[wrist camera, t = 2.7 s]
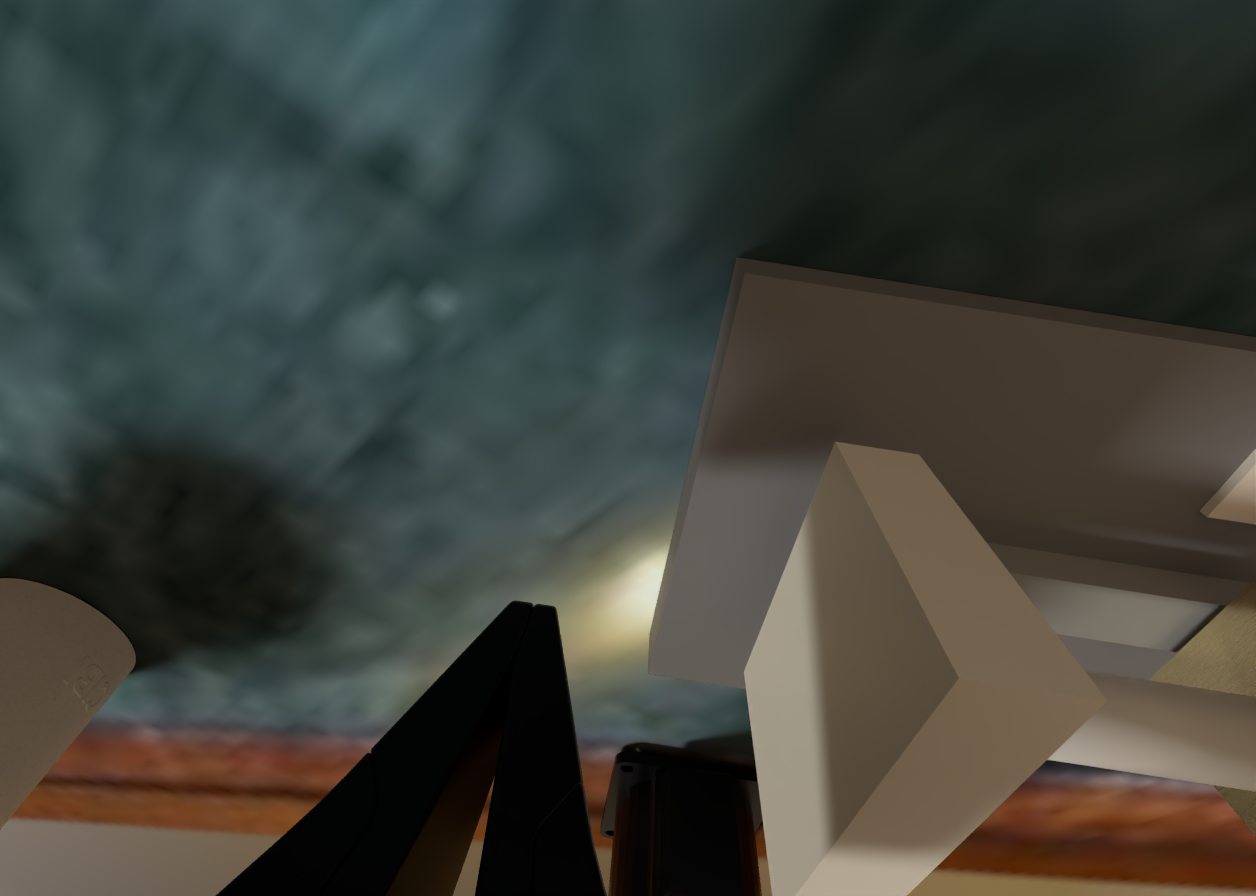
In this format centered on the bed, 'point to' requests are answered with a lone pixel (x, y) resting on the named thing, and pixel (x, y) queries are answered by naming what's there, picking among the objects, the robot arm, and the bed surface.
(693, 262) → the bed surface
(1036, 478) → the base
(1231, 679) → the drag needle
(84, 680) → the dixie cup
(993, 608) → the plunger
